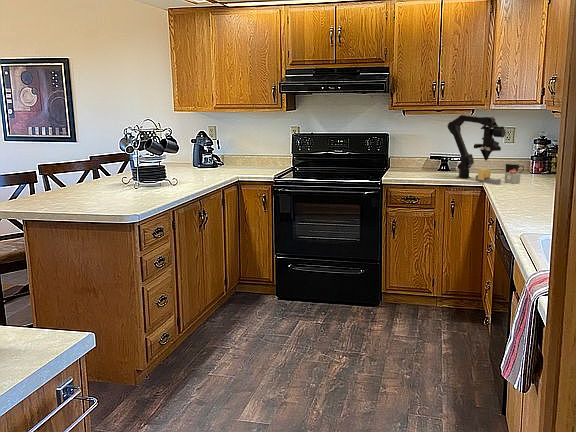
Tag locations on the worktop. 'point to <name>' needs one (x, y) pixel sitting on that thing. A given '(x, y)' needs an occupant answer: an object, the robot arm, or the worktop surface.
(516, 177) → the grey block
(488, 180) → the rail
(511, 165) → the coffee mug
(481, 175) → the carriage
